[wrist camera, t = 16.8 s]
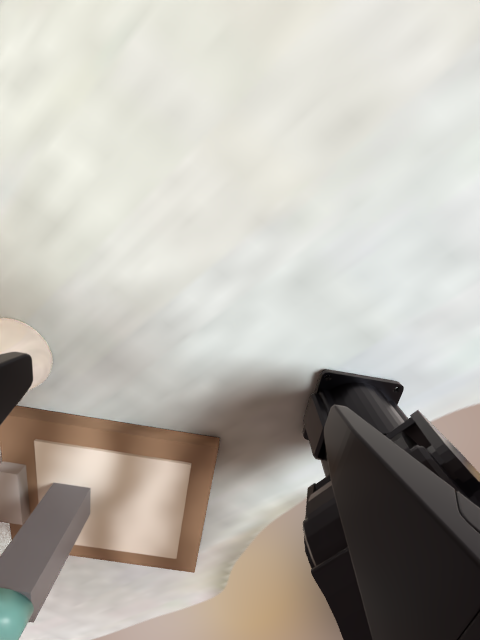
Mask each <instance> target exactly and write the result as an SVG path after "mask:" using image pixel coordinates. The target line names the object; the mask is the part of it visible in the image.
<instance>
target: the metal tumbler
mask: <svg viewBox="0 0 480 640" xmlns="http://www.w3.org/2000/svg"><path fill="white" fill-rule="evenodd" d="M9 352H22V353H27V354H29V355H30V356H31V357H32V367H33V382H32V385H31V387H30V388H29V389H28V391H29V390H31V389H33V388H35V387H37V386H39V385H40V384H41V383H43V382H44V381H45V380H46V379H47V378H48V376H49V374H50V373H51V370H52V365H53V358H52V353H51V350H50V348H49V346H48V344H47V342H46V341H45V339H44V338H43V337H42V336H41V335H40V334H39V333H38V332H37V331H36V330H35V329H34V328H32V327H31V326H29V325H27V324H25V323H23V322H21V321H18V320H15V319H11V318H0V354H4V353H9ZM28 391H27V392H28Z"/></svg>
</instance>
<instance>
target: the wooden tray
mask: <svg viewBox="0 0 480 640" xmlns="http://www.w3.org/2000/svg"><path fill="white" fill-rule="evenodd" d="M219 439H220V438H217V437H211V436H205V435H198V434H192V433H186V432H179V431H173V430H167V429H160V428H154V427H148V426H141V425H135V424H129V423H122V422H116V421H110V420H103V419H97V418H91V417H85V416H78V415H72V414H66V413H59V412H53V411H47V410H40V409H34V408H28V407H21V406H15V407H14V409H13V410H12V411H11V413H10V414H9V415H8V416H7V418H6V419H5V420H4V421H3V423H2V424H1V425H0V447H1V455H2V462H1V463H0V522H5V523H10V529H11V538H12V540H13V538H14V537H15V535H16V534H17V533H18V531H19V530H20V528H21V527H22V526H23V524H24V523H25V522H26V520H27V519H28V517H29V516H30V515H31V513H32V512H33V510H34V509H35V508H36V506H37V505H38V504H39V502H40V501H41V499H42V498H43V497H44V495H45V494H46V492H47V491H48V490H49V488H50V487H51V486H52V484H53V483H60V484H67V485H74V486H81V487H87V488H91V495H90V516H89V517H88V519H87V521H86V523H85V525H84V527H83V529H82V531H81V533H80V535H79V537H78V538H77V540H76V542H75V544H74V546H73V548H72V550H71V552H70V554H69V555H72V556H79V557H86V558H93V559H100V560H107V561H115V562H122V563H129V564H136V565H143V566H151V567H158V568H165V569H172V570H179V571H186V572H195V567H196V562H197V556H198V551H199V546H200V541H201V536H202V531H203V525H204V520H205V515H206V510H207V505H208V500H209V494H210V489H211V484H212V479H213V474H214V469H215V463H216V458H217V453H218V448H219Z"/></svg>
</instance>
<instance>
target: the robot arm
mask: <svg viewBox="0 0 480 640" xmlns="http://www.w3.org/2000/svg"><path fill="white" fill-rule="evenodd" d="M326 375H330V376H329V377H328V378H325V376H326ZM32 382H33V367H32V357H31V356H30V355H29V354H27V353H22V352H9V353H4V354H0V425H1V424H2V423H3V421H4V420H5V419H6V418H7V416H8V415H9V414H10V413H11V411H12V410H13V409H14V407H15V406H16V405H17V404H18V402H19V401H20V400H21V398H22V397H23V396H24V395H25V393H26V392H27V391H28V389H29V388H30V387H31V385H32ZM395 387H398V388H397V389H395V390H394V388H395ZM403 389H404V388H403V386H402V385H401V384H400V383H399V382H397V381H391V380H385V379H380V378H374V377H368V376H362V375H356V374H350V373H344V372H338V371H333V370H324V371H322V372H321V374H320V377H319V380H318V383H317V387H316V390H315V393H313V394H312V395H311V396H310V399H309V402H308V406H307V409H306V412H305V415H304V419H303V421H304V424H305V425H304V429H303V436H304V438H305V439H307V440H309V442H310V446H311V449H312V453H313V456H314V457H315V459H318V460H321V463H322V466H323V469H324V473H325V476H326V477H325V478H324V479H323V480H321V481H320V482H318V483H317V484H315V483H314V484H312V485H311V486H310V487H308V492H307V505H306V518H305V520H304V521H303V531H304V543H305V552H306V555H307V557H308V560H309V563H310V565H311V568H312V569H311V573H312V576H313V577H314V579H315V581H316V583H317V584H318V586H319V588H320V589H321V591H322V593H323V594H324V596H325V598H326V600H327V602H328V604H329V606H330V608H331V610H332V613H333V615H334V617H335V619H336V621H337V623H338V626H339V629H340V632H341V634H342V637H343V639H344V640H480V473H479V472H478V471H477V470H476V469H475V468H474V467H473V466H472V465H471V463H470V462H469V461H468V460H467V459H466V458H465V457H464V456H463V455H462V454H461V453H460V452H459V451H458V450H457V449H456V448H455V447H454V446H453V445H452V444H451V443H450V442H449V441H448V440H447V439H446V438H445V437H444V436H443V435H442V434H441V433H440V432H439V431H438V430H437V429H436V428H435V427H434V426H433V425H432V424H431V423H430V422H429V421H428V420H427V419H426V418H425V417H424V416H423V415H422V414H421V413H420V412H419V411H418V410H417V411H416V412H414V413H413V414H411V415H410V416H411V418H409V419H408V418H407V417H406V415H405V414H404V413H403V412H402V410H401V409H400V408H399V407H398V405H397V404H398V402H399V399H400V397H401V395H402V392H403Z"/></svg>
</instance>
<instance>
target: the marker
mask: <svg viewBox="0 0 480 640" xmlns="http://www.w3.org/2000/svg"><path fill="white" fill-rule="evenodd" d="M90 495H91V488H87V487H81V486H74V485H67V484H60V483H53V484H52V486H51V487H50V488H49V490H48V491H47V492H46V494H45V495H44V497H43V498H42V499H41V501H40V502H39V504H38V505H37V506H36V508H35V509H34V510H33V512H32V513H31V515H30V516H29V517H28V519H27V520H26V522H25V523H24V524H23V526H22V527H21V528H20V530H19V531H18V533H17V534H16V535H15V537H14V538H13V540H12V541H11V542H10V544H9V545H8V546H7V548H6V549H5V551H4V552H3V553H2V555H1V556H0V640H19V638H20V636H21V634H22V632H23V630H24V628H25V627H26V625H27V623H28V622H34V621H35V619H36V617H37V615H38V613H39V611H40V609H41V607H42V605H43V603H44V602H45V600H46V598H47V596H48V594H49V592H50V590H51V588H52V586H53V584H54V582H55V581H56V579H57V577H58V575H59V573H60V571H61V569H62V567H63V565H64V563H65V561H66V559H67V558H68V556H69V554H70V552H71V550H72V548H73V546H74V544H75V542H76V540H77V538H78V537H79V535H80V533H81V531H82V529H83V527H84V525H85V523H86V521H87V519H88V517H89V516H90Z"/></svg>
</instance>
